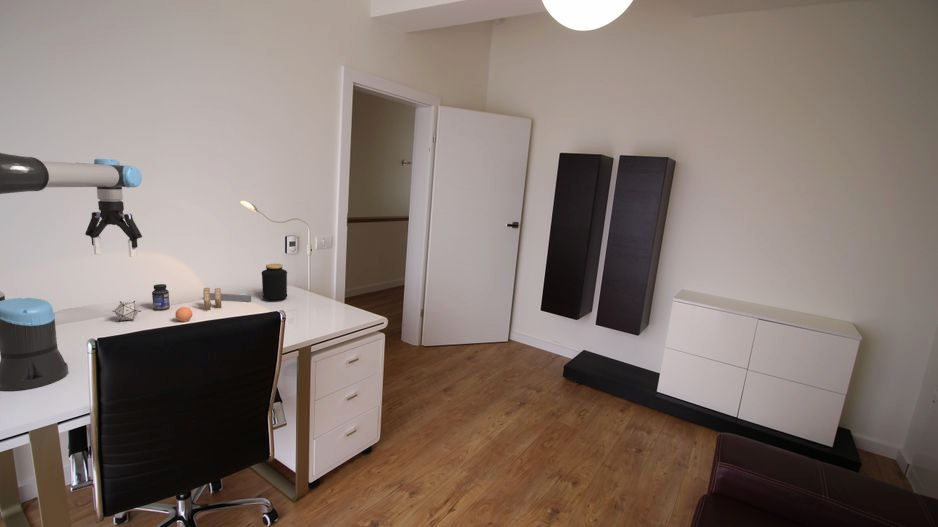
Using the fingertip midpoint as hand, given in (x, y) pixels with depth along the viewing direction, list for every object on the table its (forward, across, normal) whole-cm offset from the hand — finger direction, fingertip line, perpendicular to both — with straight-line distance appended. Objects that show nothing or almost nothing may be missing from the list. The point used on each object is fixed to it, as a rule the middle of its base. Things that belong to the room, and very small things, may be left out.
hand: (115, 255), depth 171 cm
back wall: (+28, -21, -40) cm, 53 cm away
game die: (+28, +1, -4) cm, 28 cm away
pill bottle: (+28, -1, -21) cm, 35 cm away
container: (+28, -41, -46) cm, 68 cm away
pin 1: (+28, -18, -27) cm, 43 cm away
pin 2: (+28, -23, -27) cm, 45 cm away
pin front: (+28, -21, -23) cm, 42 cm away
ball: (+25, -21, -7) cm, 33 cm away
